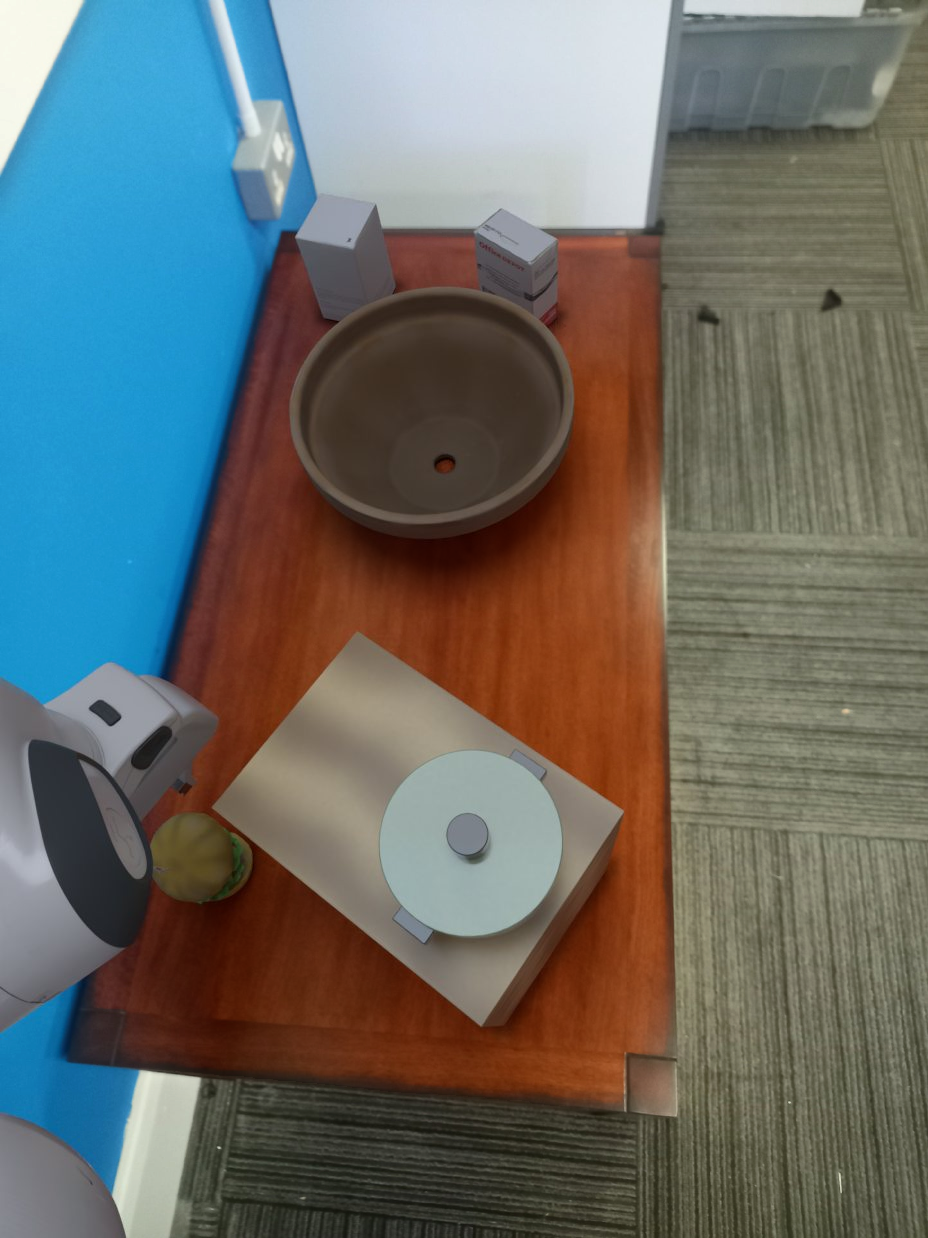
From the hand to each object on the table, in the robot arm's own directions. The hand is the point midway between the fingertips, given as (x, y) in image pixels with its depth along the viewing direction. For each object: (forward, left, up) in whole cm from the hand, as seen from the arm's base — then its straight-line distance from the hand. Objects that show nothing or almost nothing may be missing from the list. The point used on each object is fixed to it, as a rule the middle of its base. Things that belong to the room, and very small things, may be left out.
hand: (142, 833), depth 68 cm
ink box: (+70, +15, -18) cm, 74 cm away
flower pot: (+47, +9, -18) cm, 51 cm away
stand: (+13, -18, -17) cm, 28 cm away
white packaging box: (+61, +33, -18) cm, 71 cm away
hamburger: (0, 0, -18) cm, 18 cm away
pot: (+13, -23, +7) cm, 27 cm away
